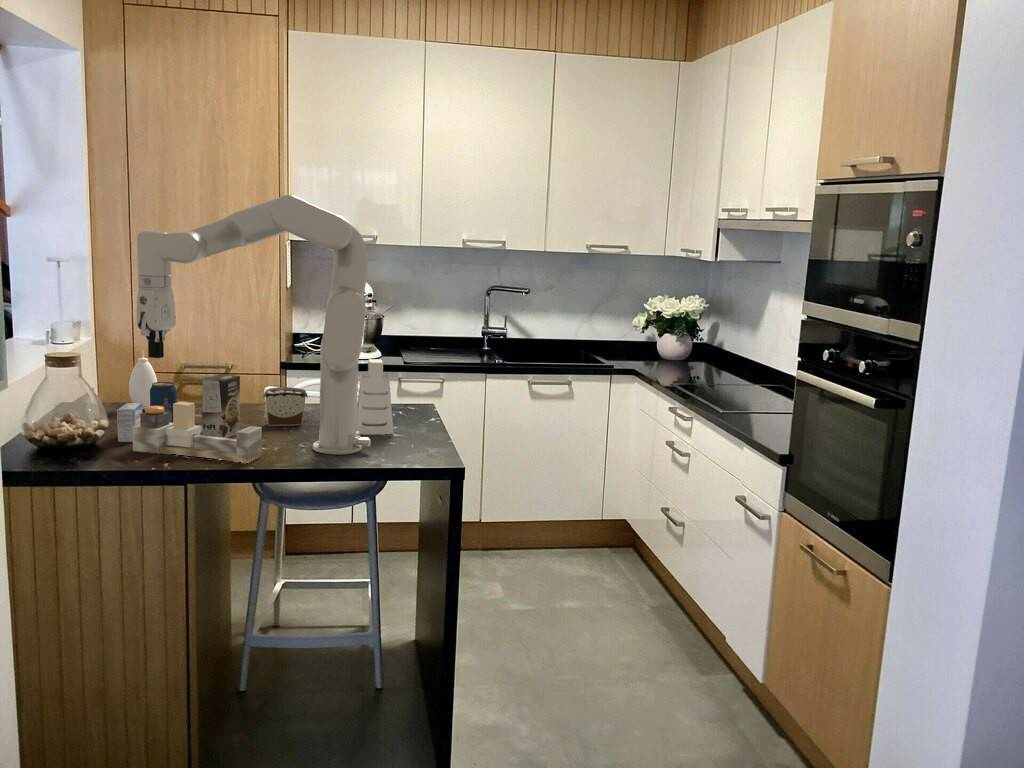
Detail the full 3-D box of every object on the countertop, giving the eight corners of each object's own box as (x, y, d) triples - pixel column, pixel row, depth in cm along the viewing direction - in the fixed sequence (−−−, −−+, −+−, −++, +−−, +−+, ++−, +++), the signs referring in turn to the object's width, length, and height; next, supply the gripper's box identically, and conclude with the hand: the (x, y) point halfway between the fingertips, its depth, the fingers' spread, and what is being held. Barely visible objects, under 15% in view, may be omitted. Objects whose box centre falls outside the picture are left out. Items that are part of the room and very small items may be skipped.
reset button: (167, 421, 229) (167, 406, 228) (157, 425, 224) (157, 410, 224) (152, 420, 229) (151, 405, 229) (141, 423, 225) (141, 408, 225)
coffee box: (223, 441, 239) (223, 380, 236) (201, 438, 240) (201, 378, 237) (240, 433, 248) (241, 375, 245) (219, 431, 249) (219, 373, 246)
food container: (305, 420, 267) (305, 386, 266) (307, 425, 262) (307, 390, 260) (261, 420, 264) (261, 386, 262) (262, 425, 258) (263, 391, 256)
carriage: (201, 442, 228) (201, 402, 227) (188, 448, 223) (188, 406, 221) (180, 440, 230) (179, 400, 228) (166, 445, 224) (165, 404, 222)
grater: (355, 434, 254) (357, 363, 251) (354, 425, 264) (356, 357, 261) (393, 434, 257) (395, 364, 253) (390, 425, 267) (392, 358, 263)
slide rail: (262, 456, 227) (262, 420, 225) (246, 464, 219) (247, 427, 217) (152, 443, 233) (151, 408, 231) (132, 450, 225) (132, 415, 223)
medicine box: (135, 442, 233) (135, 409, 231) (117, 442, 232) (116, 409, 230) (143, 435, 240) (142, 403, 239) (125, 435, 239) (124, 402, 238)
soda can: (164, 422, 255) (163, 380, 253) (182, 426, 252) (182, 383, 250) (144, 426, 249) (143, 383, 247) (163, 430, 246) (163, 387, 244)
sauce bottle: (162, 410, 269) (162, 350, 266) (136, 413, 263) (135, 352, 260) (150, 405, 274) (149, 346, 271) (124, 408, 269) (123, 348, 265)
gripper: (150, 285, 213) (152, 363, 216) (185, 281, 227) (186, 354, 231) (121, 283, 214) (123, 360, 218) (158, 279, 229) (159, 352, 232)
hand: (156, 357), depth 224 cm, fingers closed
